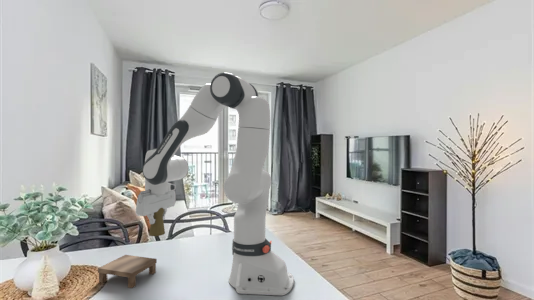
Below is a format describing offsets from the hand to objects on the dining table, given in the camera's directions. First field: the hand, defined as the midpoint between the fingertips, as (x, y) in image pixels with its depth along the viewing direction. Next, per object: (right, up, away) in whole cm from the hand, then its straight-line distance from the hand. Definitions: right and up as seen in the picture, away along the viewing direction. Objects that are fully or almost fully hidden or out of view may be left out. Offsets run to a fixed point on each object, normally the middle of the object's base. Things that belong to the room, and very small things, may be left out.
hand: (157, 221), depth 109 cm
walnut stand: (-4, -16, -14) cm, 22 cm away
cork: (0, -5, 0) cm, 5 cm away
